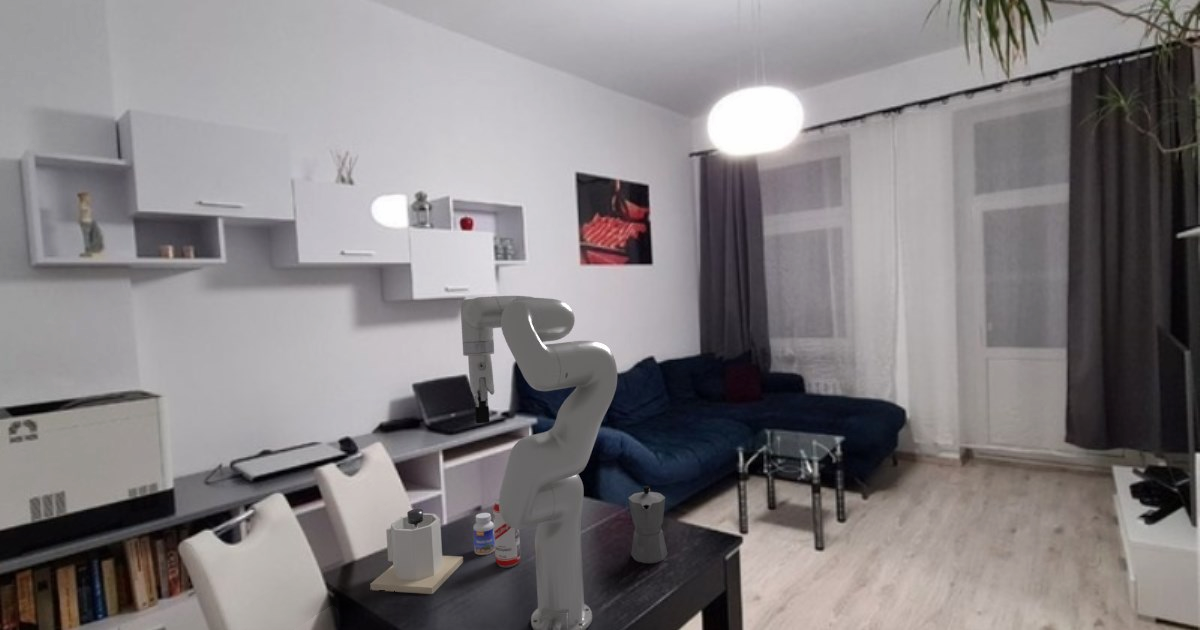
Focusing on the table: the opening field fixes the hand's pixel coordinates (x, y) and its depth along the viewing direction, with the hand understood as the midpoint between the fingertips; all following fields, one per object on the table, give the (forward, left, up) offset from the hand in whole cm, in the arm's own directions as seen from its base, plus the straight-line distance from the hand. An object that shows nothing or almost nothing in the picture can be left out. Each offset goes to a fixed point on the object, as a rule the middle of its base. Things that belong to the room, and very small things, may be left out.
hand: (482, 422), depth 143 cm
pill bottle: (+10, +6, -37) cm, 39 cm away
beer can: (+4, -3, -37) cm, 38 cm away
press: (-5, +17, -37) cm, 41 cm away
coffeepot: (+13, -38, -37) cm, 55 cm away
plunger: (-5, +17, -35) cm, 39 cm away
